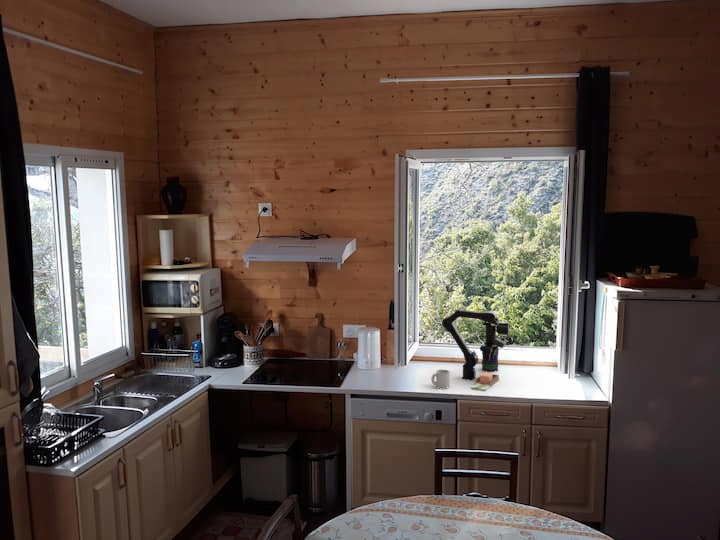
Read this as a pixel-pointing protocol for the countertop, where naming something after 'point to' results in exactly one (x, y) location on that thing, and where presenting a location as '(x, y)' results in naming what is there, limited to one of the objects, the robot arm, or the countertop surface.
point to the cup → (441, 378)
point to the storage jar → (490, 363)
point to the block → (486, 378)
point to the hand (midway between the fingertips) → (490, 360)
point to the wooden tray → (484, 385)
